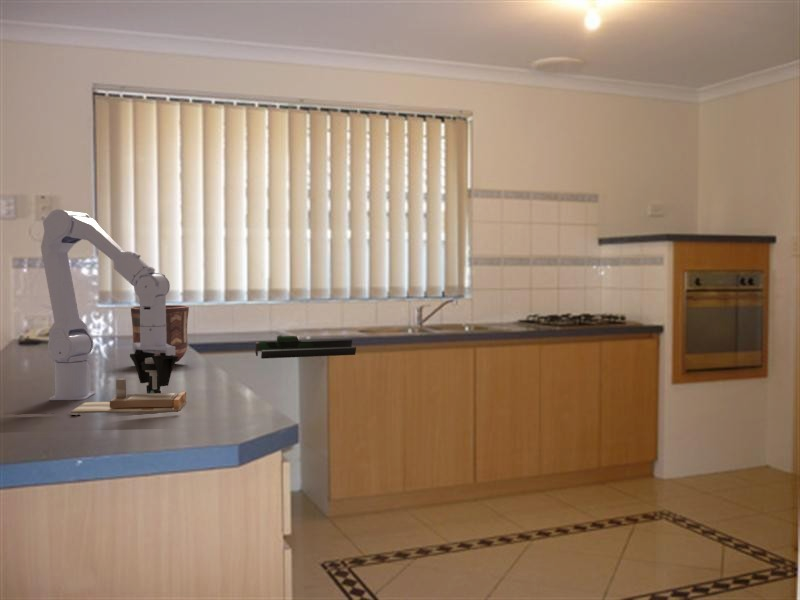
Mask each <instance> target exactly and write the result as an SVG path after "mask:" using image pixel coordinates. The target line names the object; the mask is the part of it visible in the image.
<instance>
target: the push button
mask: <svg viewBox="0 0 800 600" xmlns="http://www.w3.org/2000/svg"><path fill="white" fill-rule="evenodd" d="M141 365H142V370H145V372H149V381H148V383H147V384H148V385H145V386H146V394H154V393H162V391H161V387H160V386H159V385H158V379H157V371H156V366H155V363H154V361H153V359H152V358H145V361H144V362H142V363H141Z"/></svg>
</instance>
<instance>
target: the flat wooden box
mask: <svg viewBox="0 0 800 600" xmlns="http://www.w3.org/2000/svg"><path fill="white" fill-rule="evenodd" d="M186 403H187V391H181V392H180V393H178V396H177V397H176V398H175V399H174V406H173V407H131V408H110V401H85V402H83V403H81V404H80V405H79V406H77V407H75V408H74V409H72V410H71V411H70V414H71V413H79V414H81V413H83V414H84V413H118V412H119V413H123V412H124V413H125V412H127V413H128V412H170V411H180V410H181V408H183V406H184V405H186Z"/></svg>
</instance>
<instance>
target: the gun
mask: <svg viewBox="0 0 800 600" xmlns="http://www.w3.org/2000/svg"><path fill="white" fill-rule="evenodd" d="M352 345H353V338H340V339H338V338H337V339H335V338H334V339H308V340H306V339H305V340H299V337H298V335H279V334H278V336H276V340H275V341H274V340H273V341H272V340H271V341H270V340H269V341H266V340H265V341H264V340H259V341H255V349H254V350H255V351H254V352H255V356H256V357H258V355H259V351H260V352H261V353H260V355H261V356H260V358H261V359H263V360H264V359H284V358H285V359H287V358H310V357H312V358H313V357H331V356H332V357H333V356H334V357H335V356H356V353H357V352H356V351H357V347H356V346H352Z"/></svg>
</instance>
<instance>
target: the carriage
mask: <svg viewBox="0 0 800 600" xmlns="http://www.w3.org/2000/svg"><path fill="white" fill-rule="evenodd" d="M115 388H116V390H115V392H116V393H115V394H116V396H114V397H113V398H112V399H110V400H109V402H110V408H131V407H173V406H174V399H175V398H176V397H177V396H178V395H179V393H176V392H170V393H169V392H165V393H164V392H163V393H162V392H161V393H154V394H148V393H133V394H132V393H130V394H127V379H126V378H116V380H115Z"/></svg>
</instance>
